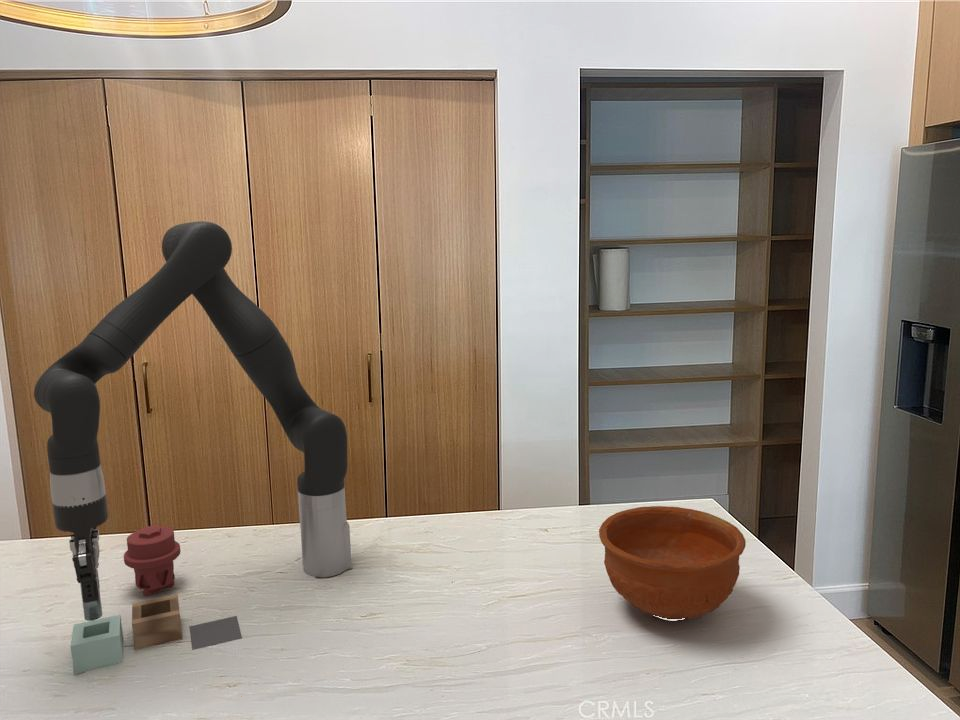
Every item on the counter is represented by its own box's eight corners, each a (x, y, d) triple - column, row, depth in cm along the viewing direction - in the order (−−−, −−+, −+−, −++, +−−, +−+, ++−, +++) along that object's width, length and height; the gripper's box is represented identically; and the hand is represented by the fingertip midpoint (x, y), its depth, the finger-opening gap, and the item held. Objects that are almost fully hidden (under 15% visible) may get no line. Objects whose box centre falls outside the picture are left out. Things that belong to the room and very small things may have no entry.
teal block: (123, 641, 127) (120, 614, 126) (122, 663, 121) (119, 635, 120) (77, 651, 124) (73, 624, 123) (74, 674, 118) (70, 646, 117)
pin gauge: (103, 610, 123) (95, 548, 121) (102, 618, 120) (94, 555, 118) (84, 614, 122) (76, 551, 119) (83, 622, 119) (75, 558, 117)
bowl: (772, 620, 130) (777, 540, 127) (667, 666, 117) (670, 578, 114) (668, 565, 150) (671, 495, 148) (570, 599, 138) (571, 523, 135)
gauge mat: (236, 617, 134) (236, 615, 134) (242, 639, 127) (242, 638, 127) (189, 627, 131) (189, 626, 131) (192, 651, 124) (192, 649, 124)
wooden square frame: (180, 619, 134) (177, 594, 133) (182, 640, 127) (179, 613, 126) (135, 629, 131) (132, 603, 130) (135, 651, 124) (131, 624, 123)
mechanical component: (194, 578, 149) (163, 604, 139) (149, 574, 151) (116, 599, 141) (188, 520, 146) (157, 542, 137) (143, 517, 148) (109, 538, 139)
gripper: (103, 506, 112) (116, 611, 116) (107, 477, 125) (118, 573, 128) (46, 515, 109) (61, 622, 113) (56, 485, 122) (69, 582, 125)
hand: (91, 595), depth 120 cm, fingers closed on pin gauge, 2 cm apart
